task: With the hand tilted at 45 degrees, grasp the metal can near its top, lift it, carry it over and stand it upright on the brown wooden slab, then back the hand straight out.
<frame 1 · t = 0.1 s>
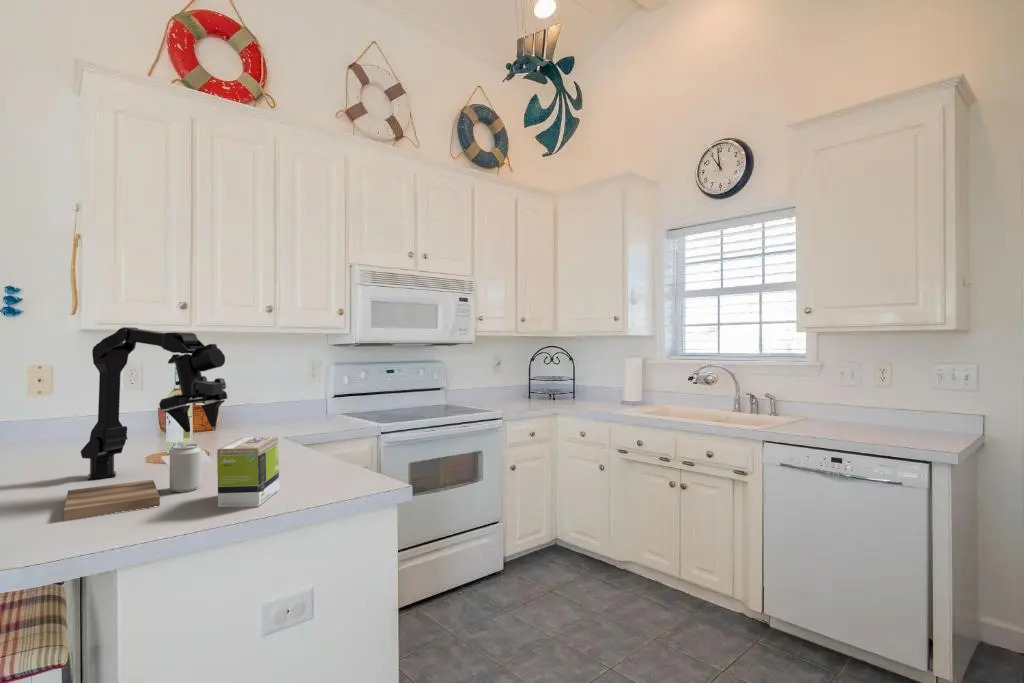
hand: (201, 429, 153), 15 cm above the counter, tool pointing down, fingers open, 9 cm apart
tea box: (250, 499, 139), on the counter
can: (185, 490, 148), on the counter
brown wooden slab: (113, 505, 135), on the counter
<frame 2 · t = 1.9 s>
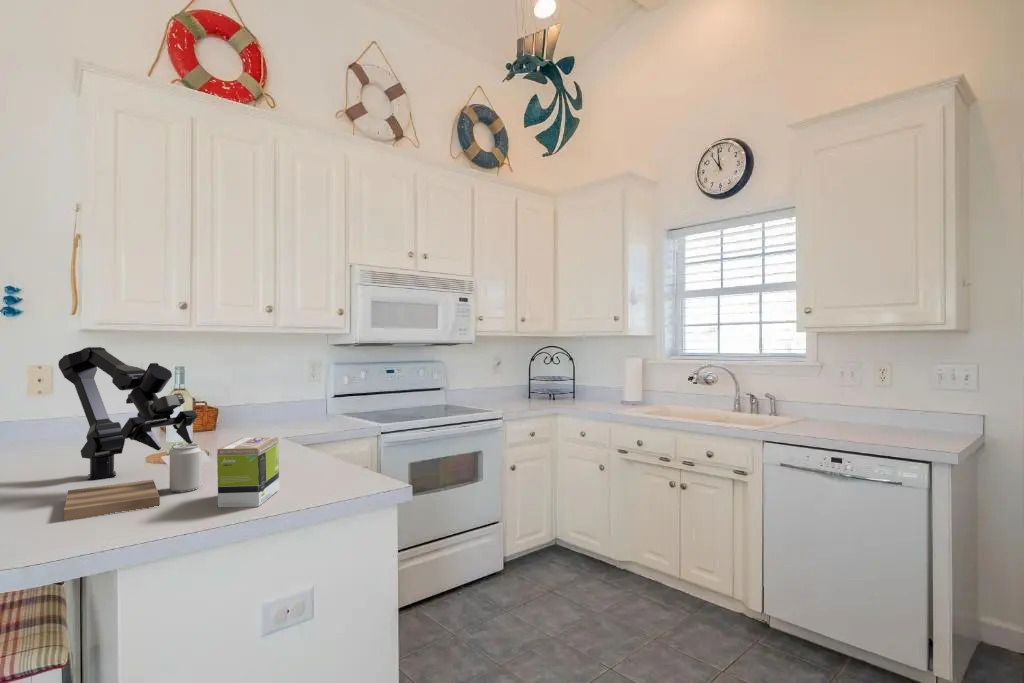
hand: (175, 446, 149), 11 cm above the counter, tool tilted 45°, fingers open, 9 cm apart
nothing on the counter moved.
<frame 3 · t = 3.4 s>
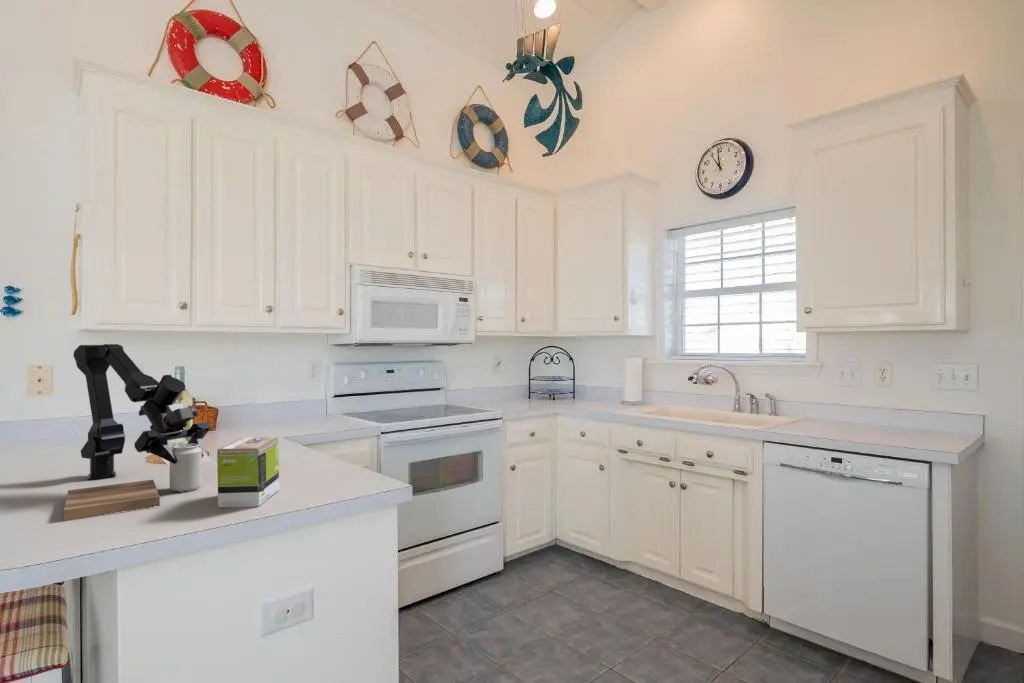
hand: (189, 459, 147), 8 cm above the counter, tool tilted 45°, fingers closed on can, 7 cm apart
can: (185, 489, 148), on the counter, touching gripper
everything else where it was.
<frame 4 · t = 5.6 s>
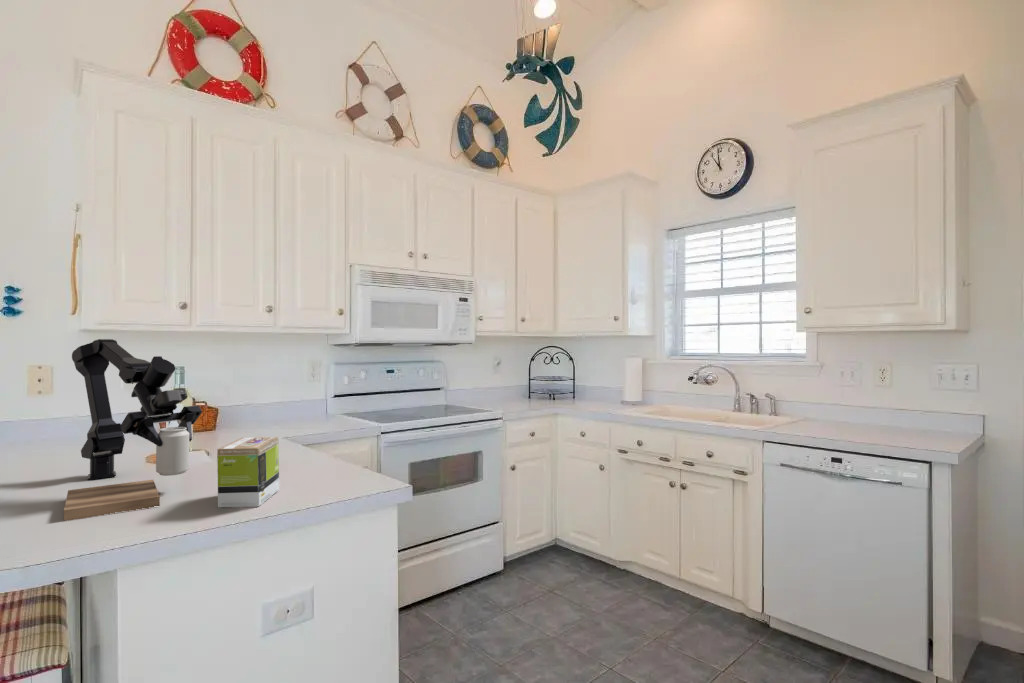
hand: (176, 442, 144), 13 cm above the counter, tool tilted 45°, fingers closed on can, 7 cm apart
can: (172, 473, 145), point 5 cm above the counter, touching gripper
everything else where it was.
when the fingers open (12 cm above the counter, at t = 7.9 s): can drops 2 cm, resting on brown wooden slab.
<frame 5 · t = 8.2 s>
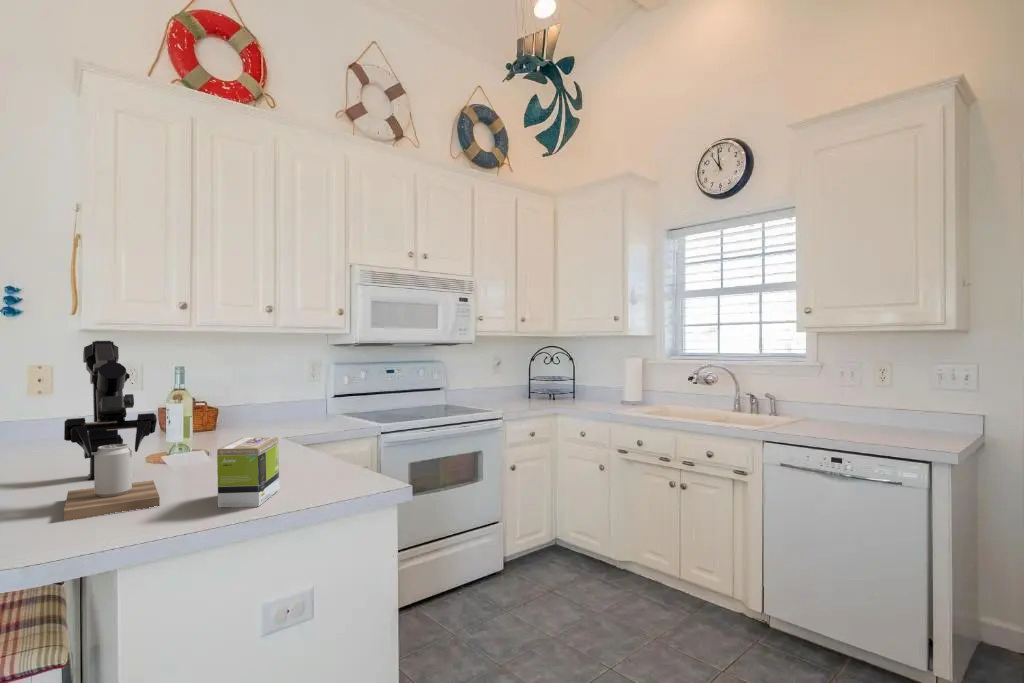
hand: (113, 453, 134), 13 cm above the counter, tool tilted 45°, fingers open, 9 cm apart
can: (113, 494, 135), point 2 cm above the counter, touching brown wooden slab
brown wooden slab: (112, 506, 135), on the counter, touching can
everything else where it was.
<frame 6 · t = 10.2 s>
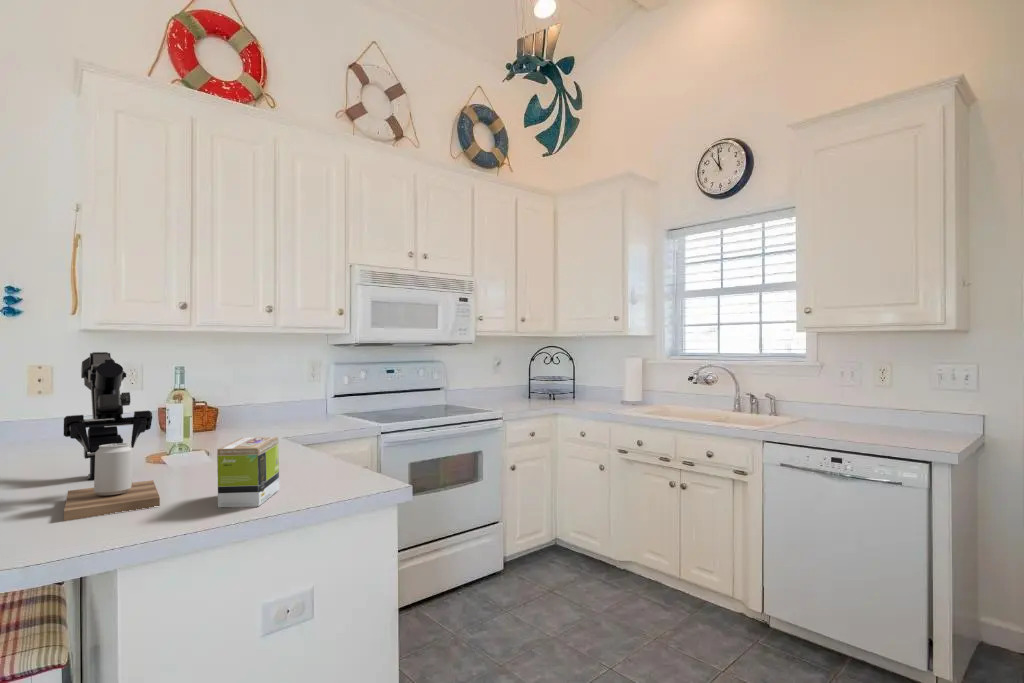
hand: (111, 449, 140), 12 cm above the counter, tool tilted 45°, fingers open, 9 cm apart
nothing on the counter moved.
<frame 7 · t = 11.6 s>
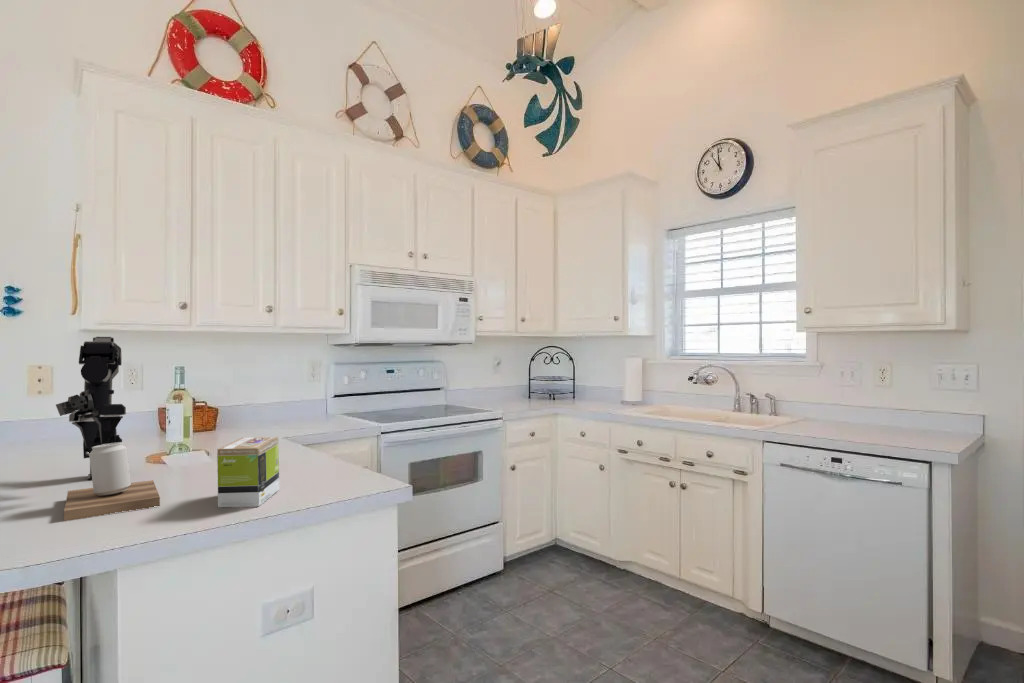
hand: (96, 445, 144), 12 cm above the counter, tool pointing down, fingers open, 9 cm apart
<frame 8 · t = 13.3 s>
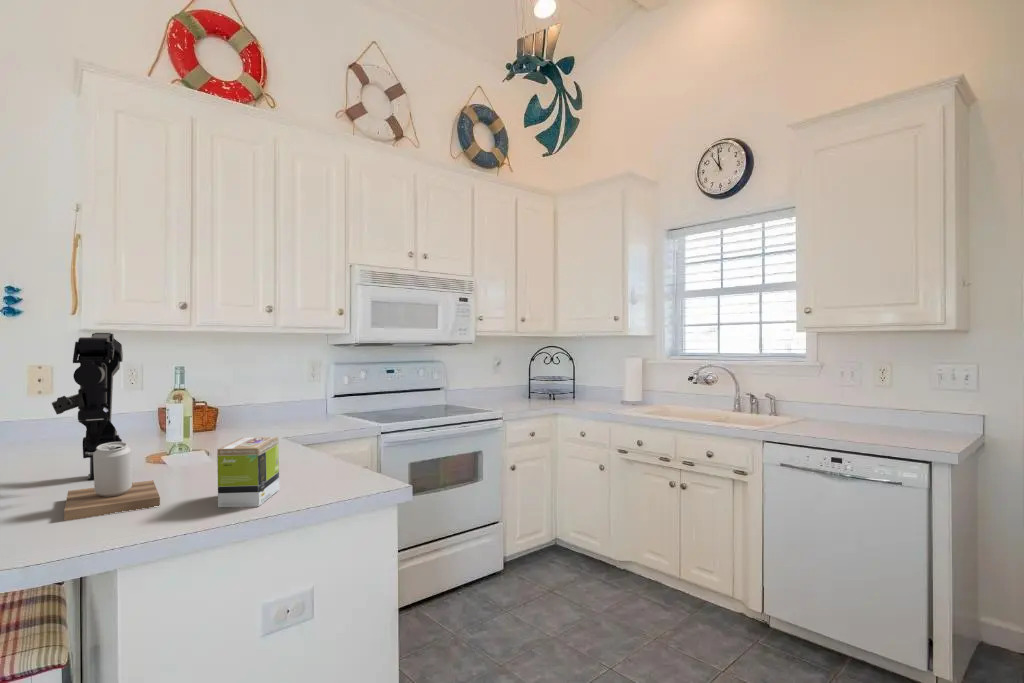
hand: (93, 442, 145), 13 cm above the counter, tool pointing down, fingers open, 9 cm apart
at the end: can inside the target area on the brown wooden slab (0.1 cm from its centre), point 3.4 cm above the brown wooden slab's base; can tilted 10°; the gripper is holding nothing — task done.
